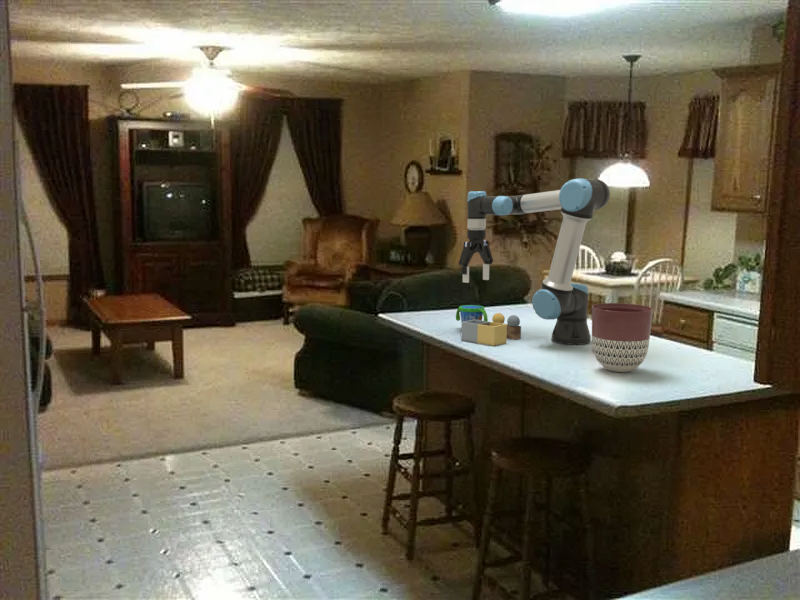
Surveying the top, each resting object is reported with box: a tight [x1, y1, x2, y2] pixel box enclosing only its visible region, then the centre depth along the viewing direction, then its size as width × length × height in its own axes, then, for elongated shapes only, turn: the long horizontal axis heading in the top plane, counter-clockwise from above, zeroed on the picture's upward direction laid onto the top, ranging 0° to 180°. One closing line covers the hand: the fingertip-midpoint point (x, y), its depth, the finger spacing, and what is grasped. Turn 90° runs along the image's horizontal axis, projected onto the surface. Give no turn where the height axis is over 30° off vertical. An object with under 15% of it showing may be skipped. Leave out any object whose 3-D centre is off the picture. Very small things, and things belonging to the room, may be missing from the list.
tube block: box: [460, 319, 508, 347], centre depth 322 cm, size 16×8×8 cm, turn 47°
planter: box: [591, 302, 653, 373], centre depth 274 cm, size 20×20×21 cm
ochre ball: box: [491, 312, 506, 324], centre depth 335 cm, size 5×5×5 cm
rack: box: [506, 323, 522, 341], centre depth 333 cm, size 12×4×5 cm, turn 47°
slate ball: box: [506, 314, 521, 327], centre depth 330 cm, size 5×5×5 cm
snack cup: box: [455, 304, 489, 323], centre depth 347 cm, size 16×10×10 cm
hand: (476, 281), depth 340 cm, fingers open, 13 cm apart
